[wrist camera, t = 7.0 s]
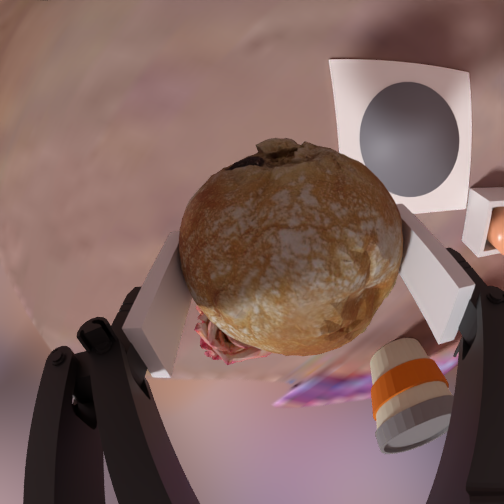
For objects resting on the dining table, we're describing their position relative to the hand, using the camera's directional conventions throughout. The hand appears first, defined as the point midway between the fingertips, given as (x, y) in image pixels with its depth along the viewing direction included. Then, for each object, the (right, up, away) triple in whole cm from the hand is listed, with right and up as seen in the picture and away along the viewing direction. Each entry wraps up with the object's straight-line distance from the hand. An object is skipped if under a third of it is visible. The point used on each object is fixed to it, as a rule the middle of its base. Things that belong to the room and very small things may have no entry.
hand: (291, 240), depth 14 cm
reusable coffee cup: (+21, -17, +26) cm, 38 cm away
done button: (+27, +3, +11) cm, 29 cm away
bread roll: (0, 0, +1) cm, 1 cm away
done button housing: (+27, +4, +13) cm, 31 cm away
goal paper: (+14, +10, +10) cm, 20 cm away
